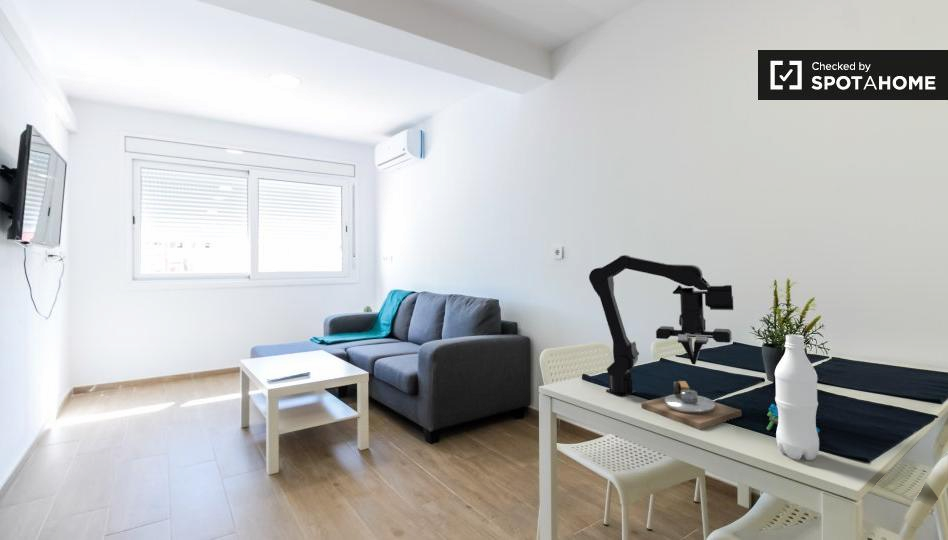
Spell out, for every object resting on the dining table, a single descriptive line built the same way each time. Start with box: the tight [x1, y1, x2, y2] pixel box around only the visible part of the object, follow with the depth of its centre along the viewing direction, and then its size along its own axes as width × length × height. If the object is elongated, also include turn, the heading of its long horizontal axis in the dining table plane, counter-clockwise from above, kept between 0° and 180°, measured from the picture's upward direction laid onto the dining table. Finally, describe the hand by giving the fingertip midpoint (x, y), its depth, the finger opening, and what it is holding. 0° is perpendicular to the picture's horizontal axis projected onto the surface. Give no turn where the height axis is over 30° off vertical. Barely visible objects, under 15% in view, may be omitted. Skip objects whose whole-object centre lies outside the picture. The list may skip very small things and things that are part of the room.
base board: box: [640, 380, 742, 430], centre depth 118 cm, size 18×16×6 cm
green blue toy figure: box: [766, 403, 821, 434], centre depth 101 cm, size 11×6×10 cm
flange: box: [665, 380, 716, 414], centre depth 120 cm, size 17×12×4 cm
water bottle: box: [774, 333, 820, 461], centre depth 91 cm, size 7×7×25 cm
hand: (693, 364), depth 125 cm, fingers closed
